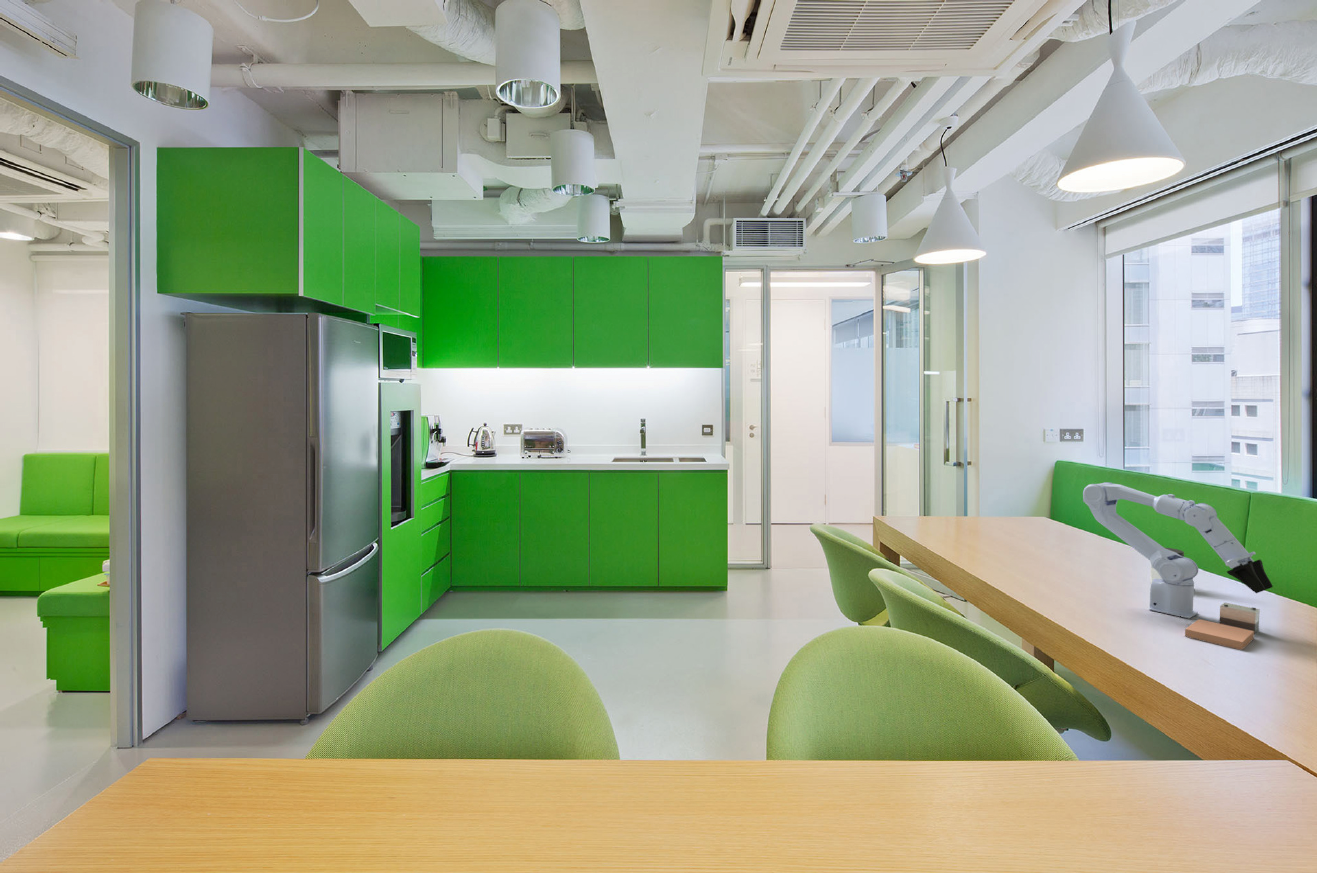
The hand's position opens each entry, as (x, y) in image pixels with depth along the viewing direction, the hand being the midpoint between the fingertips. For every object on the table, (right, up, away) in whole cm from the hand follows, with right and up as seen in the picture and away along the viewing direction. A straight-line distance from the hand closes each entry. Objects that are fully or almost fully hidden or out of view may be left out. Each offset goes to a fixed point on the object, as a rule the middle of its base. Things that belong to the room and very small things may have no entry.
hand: (1264, 590), depth 162 cm
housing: (-3, -12, +4) cm, 13 cm away
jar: (+9, -9, +43) cm, 45 cm away
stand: (-14, -12, -2) cm, 18 cm away
